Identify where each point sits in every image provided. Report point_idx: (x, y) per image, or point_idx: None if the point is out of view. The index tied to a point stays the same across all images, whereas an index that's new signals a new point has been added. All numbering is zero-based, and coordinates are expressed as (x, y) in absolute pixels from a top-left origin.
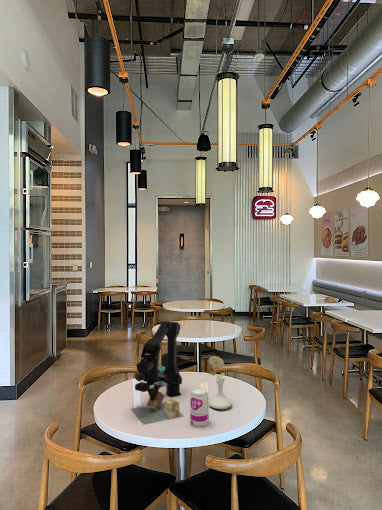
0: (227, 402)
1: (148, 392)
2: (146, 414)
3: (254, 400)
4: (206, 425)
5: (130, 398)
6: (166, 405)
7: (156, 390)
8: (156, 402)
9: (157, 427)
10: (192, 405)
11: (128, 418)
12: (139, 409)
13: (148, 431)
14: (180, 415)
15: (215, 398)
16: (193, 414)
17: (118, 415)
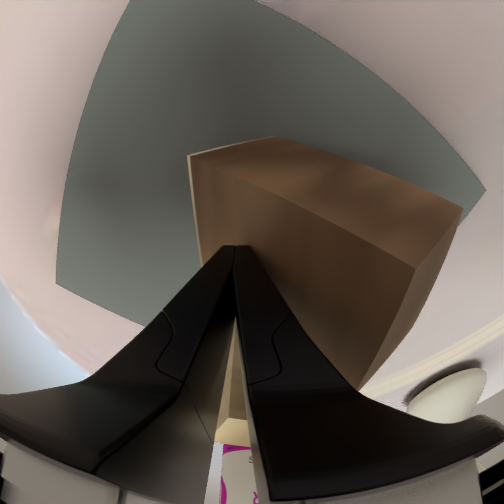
0: None
1: (134, 351)
2: (149, 194)
3: (486, 395)
4: None
5: None
6: (221, 399)
7: (251, 451)
8: None
9: (112, 335)
10: (221, 490)
11: (33, 117)
12: (191, 44)
13: (62, 322)
14: None
15: (442, 418)
16: (222, 459)
17: (24, 16)
